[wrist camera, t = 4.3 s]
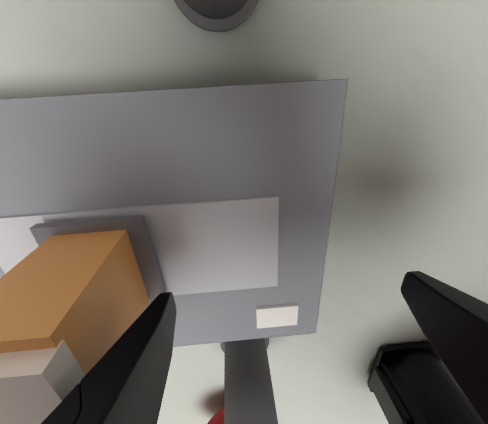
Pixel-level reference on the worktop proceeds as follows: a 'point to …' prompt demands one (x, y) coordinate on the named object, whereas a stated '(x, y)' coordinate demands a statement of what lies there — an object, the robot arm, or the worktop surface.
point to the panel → (190, 192)
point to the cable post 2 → (248, 383)
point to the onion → (218, 417)
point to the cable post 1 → (216, 13)
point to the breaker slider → (70, 308)
